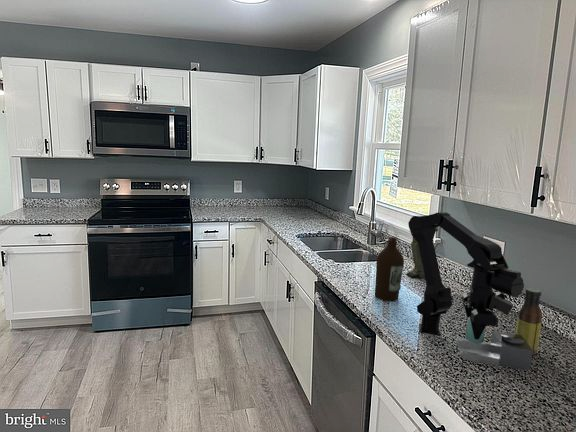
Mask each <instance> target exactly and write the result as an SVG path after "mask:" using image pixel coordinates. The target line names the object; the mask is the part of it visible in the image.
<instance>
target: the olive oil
mask: <svg viewBox="0 0 576 432" xmlns="http://www.w3.org/2000/svg"><path fill="white" fill-rule="evenodd" d="M397 241H398V239H397V237H396V236H389V237H388V240H387V246H386V247H385V248H383V249H382V250H381V251H380V252H379V253H378V255H377V257H376V267H375V268H376V269H375V270H376V271H375V285H374V297H375V298H376V299H377V300H378V299H379V300H381V301H384V302H385V301H386V302H396V301H398V300H399V296H400V290H401V287H402V285H401V282H402V277H403V271H404V265H405V260H404V259H405V258H404V256H403V254H402V253H401V252H400V251H399V249H398V248H397Z"/></svg>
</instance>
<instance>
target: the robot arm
mask: <svg viewBox="0 0 576 432" xmlns="http://www.w3.org/2000/svg"><path fill="white" fill-rule="evenodd" d="M435 227H438V228H441V229H442V230H444V232H446V233H447V234H448V235H450V236H451V237H452V238H453V239H455V240H456V241H457V242H458V243H460V244H461V245H463V247H465V249H466V252H467V254H468V255H469V256H470V257H471V259H473V260H472V261H470V262H468V263H467V264H466V266H467V267H469V268H473V269H472V277H471V278H472V279H471V284H469V287H468V289H469V290H470V291H469V292H467V291H465V292H463V294H461V295H462V296H461V302H462V304H463V309H464V311H465V312H464V313H465V315H466V319H467V320H468V317H469V318H470V322H471V326H472V330H473V334H474V338H475V339H477V340H479V338H480V336H481V334H482V332H483V331H484V329H485V330H486V328H487V326H491V327H498V326H499V325H498V324H499V318H498V316H497V315H496V313H495V312H494V309H495V310H497V311H500V312H501V313H503V315H505V316H509V314H510V312H511V311H512V309H513V308H514V305H513V303H512V302H511V301H509V300H508V299H506V295H508V296H511V297H512V298H518V297H519V296H520V295H521V294H522V293H523V290H524V288H525V283H524V279H523V277H522V273H521V272H520V271H516V270H512V269H509V265H508V263H507V261H506V259H505V257H504V254H503V251H502V246H501V245H499V244H498V243H496V242H494V241H492V240H491V239H488V238H486V237H481V236H479V235H477V234H475V233H474V232H473V230H470V229H468V227H466V226H465V225H464V224H462V223H461V222H459V221H458V220H457V219H455V218H454V217H452V215H451V214H450V213H448V212H446V211H445V212H444V211H442V212H439V211H437V212H435V213H431V214H428V215H413V216H412V217H410V219H409V221H408V228H409V229H408V230H409V232H410V235H411V236H412V239H413V238H414V239H415V240H416V241H417V243H418V246H419V251H420V256H421V261H422V266H423V271H424V275H425V278H424V279H425V285H426V286H425V289H424V292H423V301H422V302H420V303H419V304H418V305H416V310H417V313H418V314H421V315H422V316H421V323H419V324H418V328H419V332H420V333H421V334H427V335H432V336H433V335H435V336H442V332H441V330H440V325H441V319H442V318H441V316H442V315H446V314H447V312H448V311H449V310H450V309H451V307H452V306H453V301H454V298H453V296H452V291H451V290H452V289H451V288H450V287H446V286H445V284H443V281H442V276H441V271H440V266H439V262H438V257H437V253H436V248H435V243H434V237H435V235H436V232H437V231H436V230H435ZM494 291H496V293H495V292H494ZM485 327H486V328H485Z"/></svg>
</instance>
